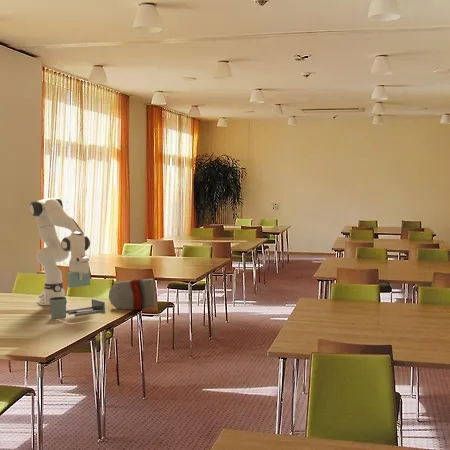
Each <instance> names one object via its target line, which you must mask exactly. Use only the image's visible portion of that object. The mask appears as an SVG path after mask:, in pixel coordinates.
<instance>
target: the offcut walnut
mask: <svg viewBox="0 0 450 450" xmlns="http://www.w3.org/2000/svg"><path fill="white" fill-rule="evenodd" d="M90 311H95V310H92V309H91V310H81V311H76V313H75V314H77V313H84V312H90Z"/></svg>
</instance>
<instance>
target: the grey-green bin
mask: <svg viewBox="0 0 450 450" xmlns="http://www.w3.org/2000/svg"><path fill="white" fill-rule="evenodd" d="M66 300H67V296H65V297H53V298H50V299H49V301H50V305H49V306H50V314H51V316H50V317H51V319H52V320H58V319H60V318H65V317H67V313H66V310H67V302H66Z"/></svg>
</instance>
